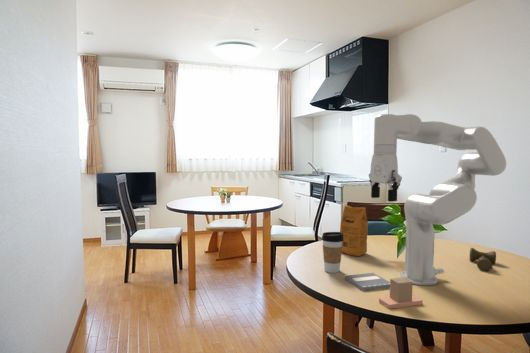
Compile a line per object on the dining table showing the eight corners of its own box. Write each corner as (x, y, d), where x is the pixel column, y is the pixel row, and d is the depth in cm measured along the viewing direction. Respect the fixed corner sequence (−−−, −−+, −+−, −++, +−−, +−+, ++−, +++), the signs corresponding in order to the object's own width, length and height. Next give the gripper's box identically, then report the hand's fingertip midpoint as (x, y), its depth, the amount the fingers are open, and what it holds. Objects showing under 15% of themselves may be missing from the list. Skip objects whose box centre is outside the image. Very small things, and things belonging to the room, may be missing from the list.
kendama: (470, 270, 143) (468, 256, 160) (498, 275, 138) (493, 260, 156) (471, 256, 142) (469, 243, 159) (499, 260, 137) (495, 247, 155)
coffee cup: (343, 274, 135) (343, 235, 134) (320, 272, 137) (321, 234, 136) (342, 267, 143) (343, 231, 142) (321, 266, 145) (322, 230, 144)
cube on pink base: (411, 297, 113) (412, 275, 113) (422, 304, 109) (423, 281, 108) (379, 301, 110) (379, 279, 109) (389, 308, 105) (389, 285, 105)
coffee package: (347, 248, 173) (348, 203, 172) (370, 253, 164) (371, 206, 162) (335, 252, 166) (336, 205, 165) (358, 257, 157) (359, 208, 156)
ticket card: (372, 275, 134) (373, 272, 134) (392, 287, 122) (393, 283, 122) (344, 278, 130) (344, 275, 130) (362, 291, 119) (362, 287, 119)
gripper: (361, 150, 130) (360, 196, 131) (391, 150, 113) (389, 203, 114) (379, 150, 132) (378, 196, 133) (411, 150, 115) (409, 202, 116)
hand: (383, 199), depth 124 cm, fingers open, 9 cm apart
